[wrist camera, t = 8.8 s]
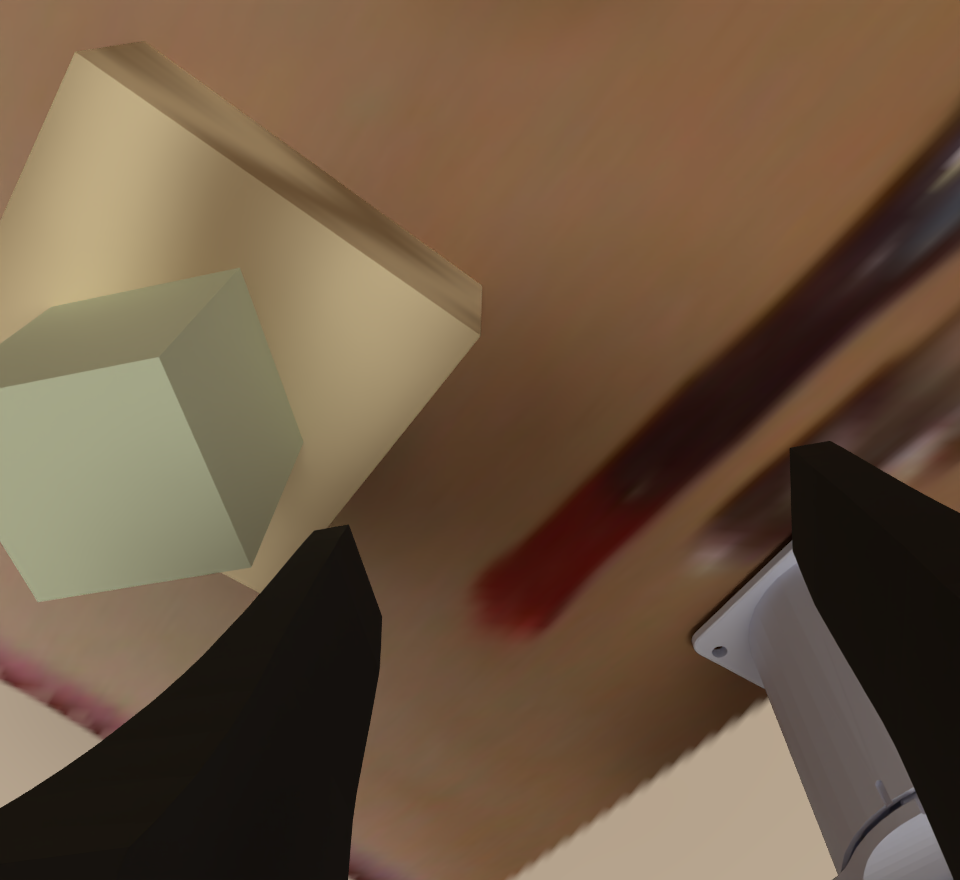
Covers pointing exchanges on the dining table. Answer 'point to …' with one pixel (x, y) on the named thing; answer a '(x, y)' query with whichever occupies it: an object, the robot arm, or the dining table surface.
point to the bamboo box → (238, 263)
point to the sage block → (141, 438)
